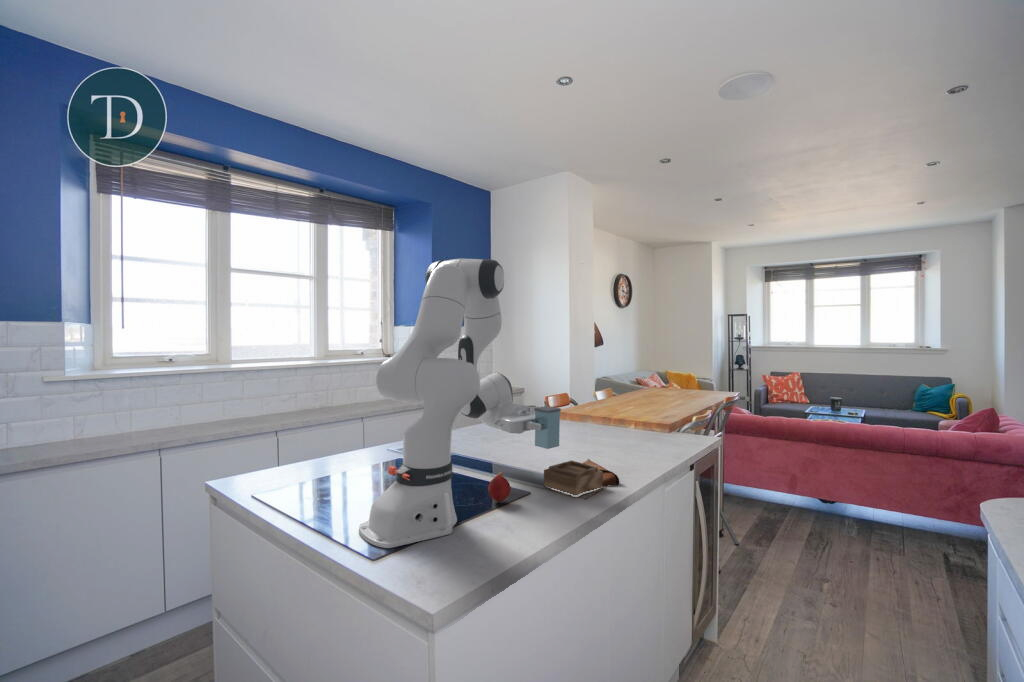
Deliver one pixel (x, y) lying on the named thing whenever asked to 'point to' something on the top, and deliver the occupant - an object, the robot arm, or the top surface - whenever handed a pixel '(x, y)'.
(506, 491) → the onion
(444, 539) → the top surface
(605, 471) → the sunglasses case
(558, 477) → the walnut stand
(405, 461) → the robot arm
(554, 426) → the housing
